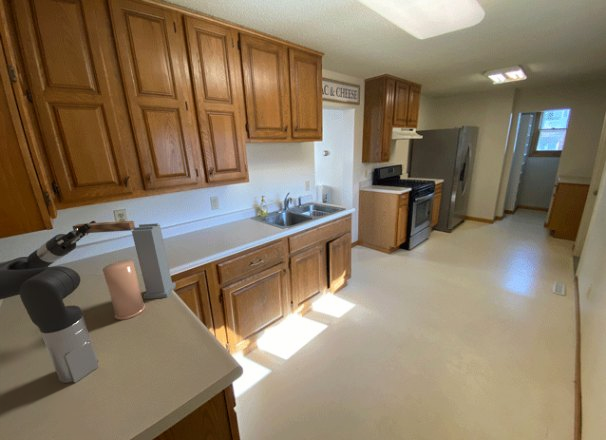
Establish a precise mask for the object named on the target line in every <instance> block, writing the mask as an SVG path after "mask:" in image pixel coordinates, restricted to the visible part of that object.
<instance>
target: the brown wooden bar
mask: <svg viewBox="0 0 606 440" xmlns="http://www.w3.org/2000/svg"><path fill="white" fill-rule="evenodd" d="M87 223H88V224H89V225H90V226H91V228H90V229H89V230H87V231H86V232H84V233H89V234H96V233H108V232H109V233H112V232H126V231H127V232H128V231H131V232H132V231H133V229H134V228H135V227H136V225H135V221H134V220H124V221H123V220H122V221H107V222H106V221H103V222H96V223H90V222H87ZM84 224H86V223H77V224H74V225H72V229H73V230H72V231H74V230H75V229H78V228H80V227H81V226H83V225H84Z"/></svg>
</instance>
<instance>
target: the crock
mask: <svg viewBox="0 0 606 440" xmlns="http://www.w3.org/2000/svg"><path fill="white" fill-rule="evenodd" d="M102 272H103V275H104V279H105V283H106V286H107V289H108V293H109V296H110V300H111V303H112V308H113V311H114V317H115V319H116V320H120V321H123V320H124V321H125V320H129V319H133V318H135V317H137V316H139V315H141V314H142V313H144V311H145V310H146V304H145V302H144V299H143V295H142V292H141V291H142V290H141V287H140V283H139V280H138V275H137V272H136V268H135V262H134V261H133V260H128V259H127V260H120V261H119V260H118V261H116V262H112V263H109V264H107V265H106V266H104V267H103V268H102Z"/></svg>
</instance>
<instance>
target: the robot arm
mask: <svg viewBox="0 0 606 440" xmlns="http://www.w3.org/2000/svg"><path fill="white" fill-rule="evenodd" d="M88 223H97V222H96V221H95V220H92V221H90V222H87V223H86V224H85V223H83V224H84V225H83V226H81V227H80V228H78V229H75V230H71V231H69V232H67V233H59V234H56V235H55V236H53V237H52V238H50V239H49V240H47V241H45V243H43V244H42V245H40V246H39V247H38V248H37V249H35V250H34V251H33V252H31V253H30V254H29V255H28V256H20V257H17V258H14V259H11V260H8V261H6V262H2V263H0V301H1V300H4V299H7V298H12V297H15V296H20V300H21V302H22V303H23V306H24V309H25V310H26V312H27V314H28V316H29V319H30V320H31V321H32V323H33V324H34V325H35V326H36V327H37V328H38V329H39V332H40V334H41V337H42V340H43V342H44V346H45V347H46V350H47V352H48V355H49V358H50V361H51V362H52V363H51V364H53V365H52V366H53V367H54V370H55V373H56V375H57V377H58V381H59V382H61V383H65V384H66V383H68V384H69V383H77V382H79V381H80V380H81V379H83V378H84V377H86V376H88V375H89V374H90V373H92V372H93V371H95V370H96V369H98V368H99V364H98V363H99V360H98V357H97V354H96V351H95V348H94V345H93V342H92V340H91V336H90V333H89V330H88V326H87V324H86V321H85V317H84V315H83V311H82V308H80V306H79V305H65V303H64V299H65V298H67V297H68V296H70V295H71V294H72V293H73V292H75V291H76V290H77V289H78V287H79V286H80V284H81V277H80V274H79V273H78V272H77V271H76V270H74V269H72V268H70V267H66V266H61V265H57V266H56V265H54V266H51V265H52V264H53V263H55V262H56V261H59V260H61V259H62V258H64V257H65V256H67V255H68V254H69V253H71V252H72V251H74V250H75V249H76V248H77V242H80V241H81V240H82V239H83V238H84V237H86V236H88V235H89V234H90V233H84V232H86V231H87V230H89V229H90V228H91V226H90V225H89V224H88Z"/></svg>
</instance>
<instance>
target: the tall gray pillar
mask: <svg viewBox="0 0 606 440" xmlns="http://www.w3.org/2000/svg"><path fill="white" fill-rule="evenodd" d="M161 227H162V226H161V224H159V223H144V224H141V223H140V224H138V226H135V228H134V229H133V230H131V234H132V239H133V242H134V246H135V251H136V255H137V259H138V263H139V268H140V271H141V276H142V279H143V280H142V281H143V283H144V288H145V291H146V292H145V293H144V294H143V295H142V297H143V298H144V299H143V300H149V299H150V300H152V299H163V298H168V297H169V296H170V294H171V293H172V292H173V290H174V289H175V288H176V286H177V285H176V281H174V282H173V280H172V276H171V270H170V267H169V261H168V257H167V252H166V251H167V250H166V247H165V243H164V239H163V238H164V237H163V233H162V228H161Z"/></svg>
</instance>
